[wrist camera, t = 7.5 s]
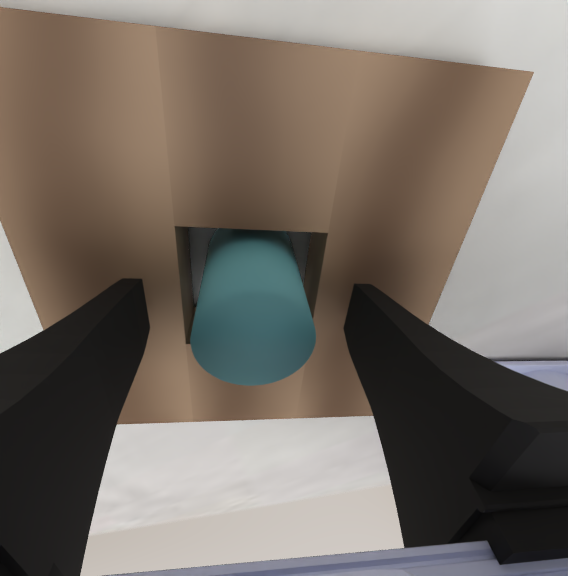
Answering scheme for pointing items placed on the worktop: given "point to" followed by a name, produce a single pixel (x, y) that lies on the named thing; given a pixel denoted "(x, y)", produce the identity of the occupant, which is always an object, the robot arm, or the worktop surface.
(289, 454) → the worktop surface
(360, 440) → the worktop surface
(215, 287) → the teal peg
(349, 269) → the walnut collar plate
